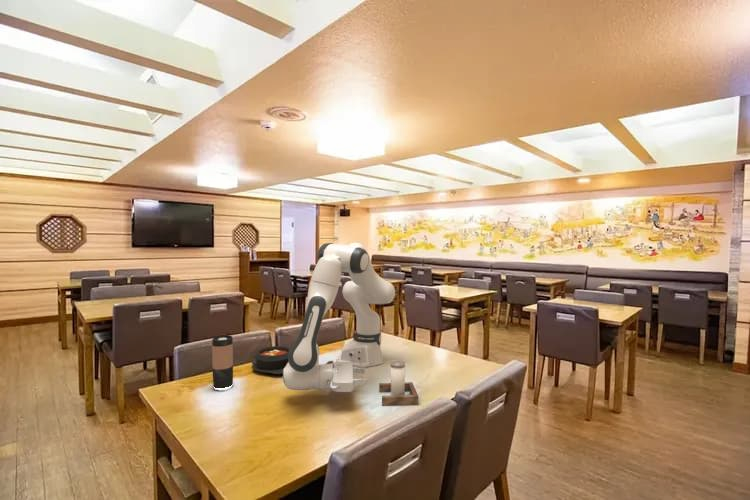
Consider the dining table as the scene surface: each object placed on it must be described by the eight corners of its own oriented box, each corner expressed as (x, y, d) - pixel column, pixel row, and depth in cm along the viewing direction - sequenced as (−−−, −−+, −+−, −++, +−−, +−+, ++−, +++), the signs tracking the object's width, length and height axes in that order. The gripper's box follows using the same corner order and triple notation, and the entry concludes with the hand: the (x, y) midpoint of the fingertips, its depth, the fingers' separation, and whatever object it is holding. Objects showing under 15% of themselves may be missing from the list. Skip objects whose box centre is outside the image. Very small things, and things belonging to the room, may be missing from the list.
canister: (389, 399, 137) (389, 364, 136) (392, 393, 142) (392, 359, 142) (403, 401, 135) (403, 365, 135) (406, 395, 141) (406, 361, 140)
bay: (382, 405, 132) (382, 397, 132) (379, 390, 145) (379, 383, 145) (418, 404, 133) (418, 396, 132) (412, 389, 146) (412, 382, 145)
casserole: (307, 370, 166) (307, 352, 166) (269, 382, 153) (269, 362, 153) (277, 357, 184) (277, 341, 184) (241, 367, 171) (241, 349, 170)
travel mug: (237, 385, 149) (237, 336, 149) (222, 393, 142) (221, 341, 142) (223, 382, 153) (223, 334, 152) (208, 389, 146) (207, 339, 145)
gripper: (326, 379, 126) (367, 378, 127) (329, 359, 147) (364, 358, 147) (326, 397, 126) (367, 396, 127) (329, 374, 147) (364, 373, 148)
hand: (365, 375), depth 138 cm, fingers open, 8 cm apart
